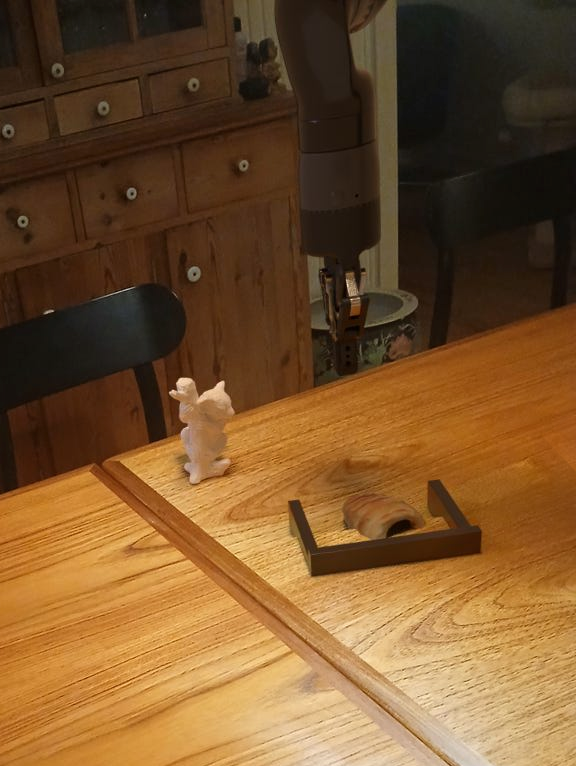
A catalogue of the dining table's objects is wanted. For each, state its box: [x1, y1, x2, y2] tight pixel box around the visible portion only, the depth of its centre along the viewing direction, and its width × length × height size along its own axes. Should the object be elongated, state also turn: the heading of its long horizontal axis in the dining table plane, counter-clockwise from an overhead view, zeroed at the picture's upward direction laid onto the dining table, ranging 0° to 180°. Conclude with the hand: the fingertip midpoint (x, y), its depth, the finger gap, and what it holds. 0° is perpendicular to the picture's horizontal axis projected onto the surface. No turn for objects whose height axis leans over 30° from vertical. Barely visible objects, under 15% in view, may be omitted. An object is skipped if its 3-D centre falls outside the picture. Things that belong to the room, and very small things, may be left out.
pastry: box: [341, 493, 427, 540], centre depth 99 cm, size 9×7×4 cm
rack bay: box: [287, 478, 483, 577], centre depth 96 cm, size 15×13×4 cm
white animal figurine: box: [168, 377, 236, 485], centre depth 114 cm, size 8×7×12 cm
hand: (346, 372), depth 103 cm, fingers closed
